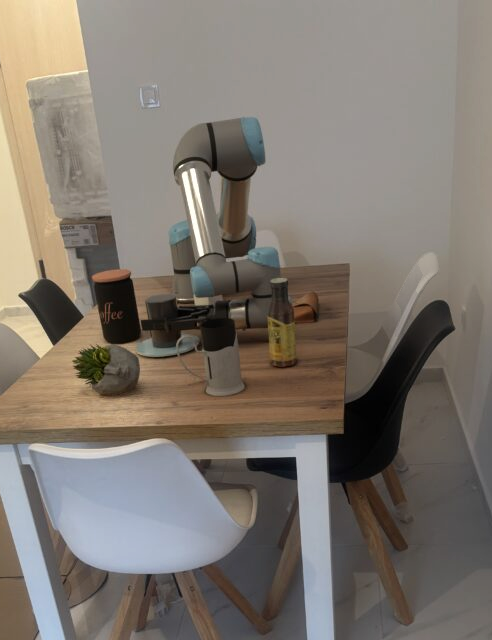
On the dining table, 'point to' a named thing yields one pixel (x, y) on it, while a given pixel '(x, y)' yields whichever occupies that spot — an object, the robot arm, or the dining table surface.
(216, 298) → the jar
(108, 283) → the coffee jar
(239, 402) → the dining table surface
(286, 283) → the sauce bottle
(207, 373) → the glass holder
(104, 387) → the potted plant
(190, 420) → the dining table surface
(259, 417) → the dining table surface
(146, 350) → the saucer
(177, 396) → the dining table surface
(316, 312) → the sunglasses case
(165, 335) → the dark glossy canister
